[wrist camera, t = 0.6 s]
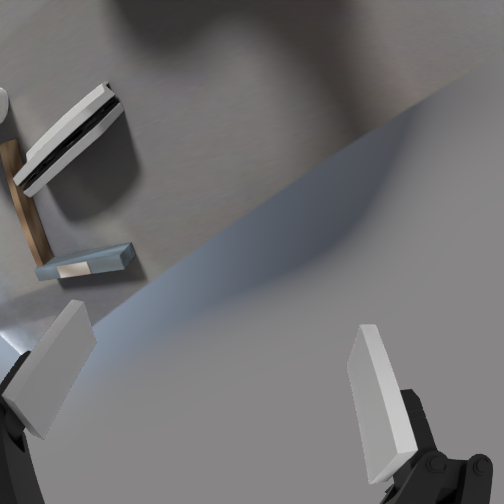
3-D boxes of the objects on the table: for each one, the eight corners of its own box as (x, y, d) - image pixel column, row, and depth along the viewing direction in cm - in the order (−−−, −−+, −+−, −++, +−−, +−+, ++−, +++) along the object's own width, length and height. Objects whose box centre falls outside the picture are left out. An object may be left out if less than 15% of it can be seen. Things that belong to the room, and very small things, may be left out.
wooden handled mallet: (11, 142, 34) (-7, 147, 31) (93, 100, 32) (75, 101, 28) (52, 268, 44) (38, 281, 40) (135, 255, 41) (123, 269, 38)
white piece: (108, 78, 31) (78, 100, 24) (129, 105, 34) (105, 134, 27) (30, 149, 35) (-4, 186, 28) (48, 171, 38) (19, 211, 31)
